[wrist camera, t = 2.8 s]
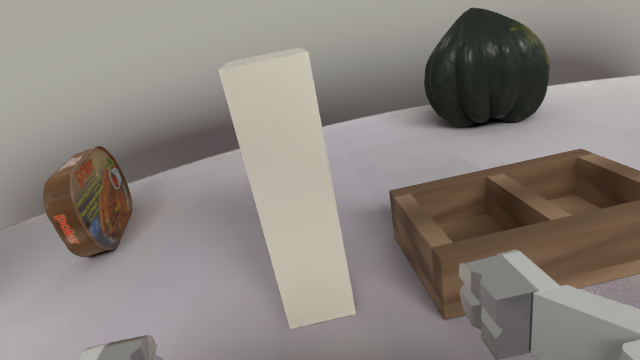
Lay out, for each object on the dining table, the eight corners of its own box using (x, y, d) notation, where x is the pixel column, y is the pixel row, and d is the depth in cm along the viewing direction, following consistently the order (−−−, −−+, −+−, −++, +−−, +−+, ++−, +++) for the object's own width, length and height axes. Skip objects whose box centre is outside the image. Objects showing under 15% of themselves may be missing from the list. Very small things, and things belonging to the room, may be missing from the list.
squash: (546, 93, 38) (549, -29, 42) (403, 106, 46) (417, 3, 50) (548, 144, 50) (551, 45, 53) (434, 148, 58) (443, 61, 61)
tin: (109, 266, 33) (67, 179, 30) (70, 277, 32) (24, 190, 29) (137, 201, 47) (111, 136, 43) (110, 208, 46) (82, 143, 43)
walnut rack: (695, 260, 21) (710, 198, 20) (444, 319, 21) (440, 259, 19) (576, 196, 30) (580, 148, 28) (394, 237, 29) (389, 190, 28)
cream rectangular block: (356, 313, 22) (308, 52, 17) (290, 329, 22) (218, 69, 16) (341, 265, 27) (299, 47, 21) (286, 277, 27) (229, 61, 21)
